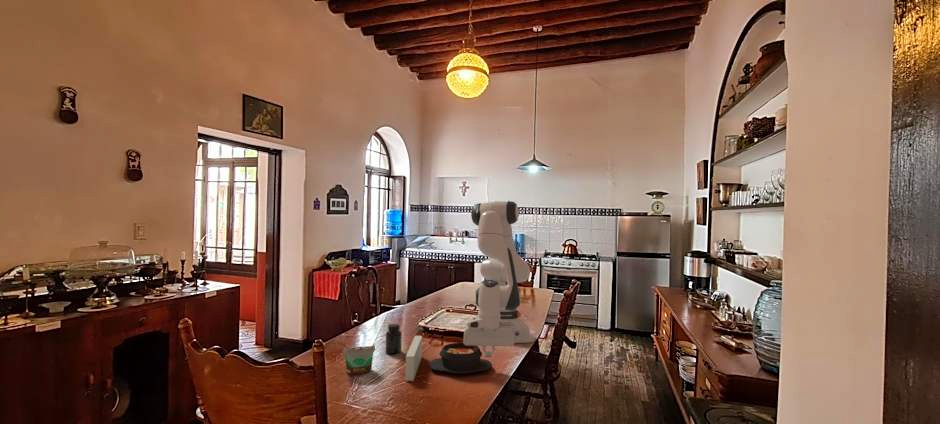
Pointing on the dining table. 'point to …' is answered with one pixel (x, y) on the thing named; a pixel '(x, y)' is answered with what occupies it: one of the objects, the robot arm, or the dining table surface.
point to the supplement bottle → (393, 340)
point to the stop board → (413, 358)
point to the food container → (359, 360)
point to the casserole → (460, 359)
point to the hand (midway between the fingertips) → (488, 356)
